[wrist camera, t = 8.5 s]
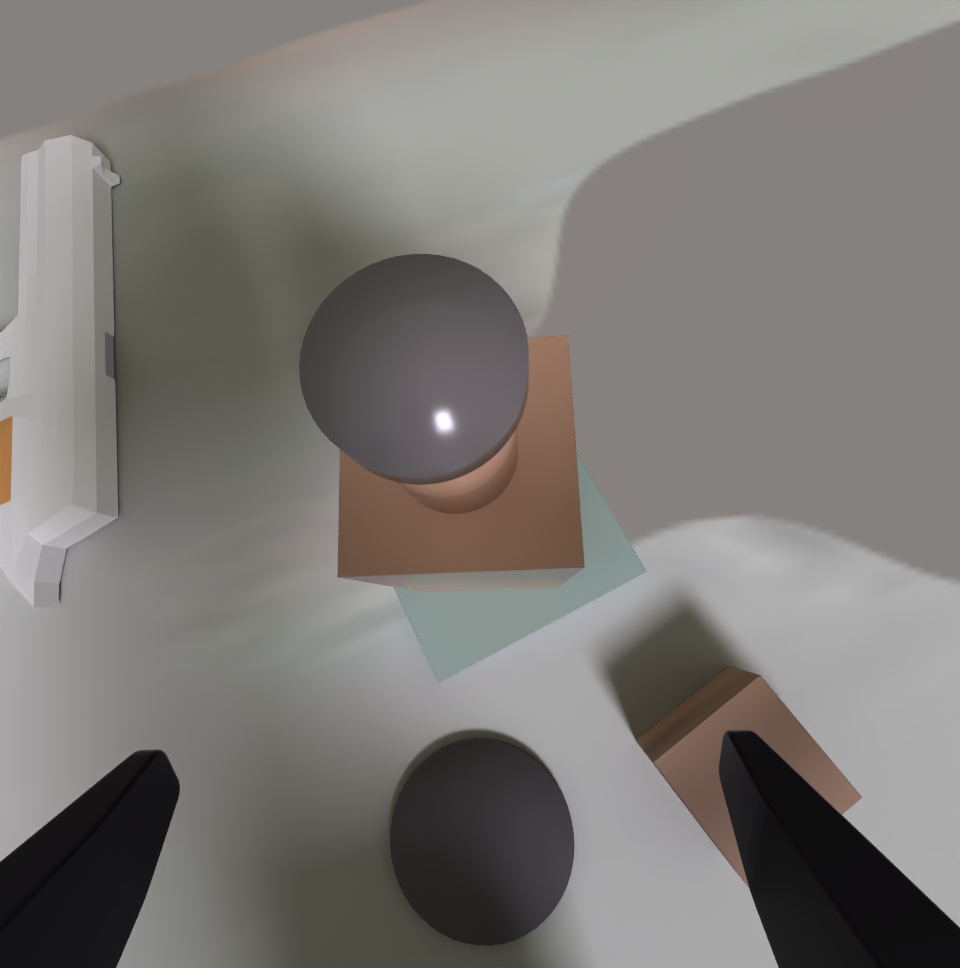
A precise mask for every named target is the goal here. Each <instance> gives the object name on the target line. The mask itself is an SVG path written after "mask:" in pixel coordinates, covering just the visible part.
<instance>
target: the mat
mask: <svg viewBox="0 0 960 968" xmlns="http://www.w3.org/2000/svg"><path fill="white" fill-rule="evenodd" d="M576 454H577V467H578V481H579V495H580V509H581V523H582V537H583V550H584V564H585V568H583V569H582V570H581V571H579V572H578V573H577V574H575V575H574V576H573V577H572V578H570V579H569V580H568V581H566V582H565V583H564V584H562V585H561V586H560V587H557V588H530V589H503V590H476V591H448V592H421V591H415V590H409V589H404V588H398V587H394V589H395V591H396V593H397V596H398V598H399V600H400V602H401V604H402V606H403V608H404V610H405V613H406V615H407V617H408V619H409V621H410V623H411V625H412V627H413V630H414V632H415V634H416V636H417V638H418V640H419V642H420V645H421V647H422V649H423V651H424V653H425V655H426V657H427V659H428V662H429V664H430V666H431V668H432V670H433V672H434V674H435V676H436V679H437V681H438V682H440V681H442V680H444V679H446V678H448V677H450V676H452V675H453V674H455V673H457V672H459V671H461V670H463V669H465V668H467V667H468V666H470V665H472V664H474V663H476V662H478V661H480V660H482V659H483V658H485V657H487V656H489V655H491V654H493V653H495V652H497V651H498V650H500V649H502V648H504V647H506V646H508V645H510V644H512V643H513V642H515V641H517V640H519V639H521V638H523V637H525V636H527V635H529V634H530V633H532V632H534V631H536V630H538V629H540V628H542V627H544V626H545V625H547V624H549V623H551V622H553V621H555V620H557V619H559V618H560V617H562V616H564V615H566V614H568V613H570V612H572V611H574V610H575V609H577V608H579V607H581V606H583V605H585V604H587V603H589V602H590V601H592V600H594V599H596V598H598V597H600V596H602V595H604V594H605V593H607V592H609V591H611V590H613V589H615V588H617V587H619V586H620V585H622V584H624V583H626V582H628V581H630V580H632V579H634V578H635V577H637V576H639V575H641V574H643V573H645V572H647V571H646V570H645V568H644V566H643V565H642V563H641V561H640V559H639V558H638V556H637V554H636V553H635V551H634V549H633V548H632V546H631V544H630V542H629V541H628V539H627V537H626V536H625V534H624V532H623V530H622V529H621V527H620V525H619V524H618V522H617V520H616V518H615V517H614V515H613V513H612V512H611V510H610V508H609V506H608V505H607V503H606V502H605V500H604V498H603V496H602V495H601V493H600V491H599V489H598V488H597V486H596V484H595V483H594V481H593V479H592V477H591V476H590V474H589V472H588V471H587V469H586V467H585V466H584V464H583V462H582V460H581V459H580V457H579V455H578V453H577V452H576Z"/></svg>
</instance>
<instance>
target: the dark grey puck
mask: <svg viewBox="0 0 960 968" xmlns="http://www.w3.org/2000/svg"><path fill="white" fill-rule="evenodd" d="M390 845H391V855H392V861H393V866H394V870H395V873H396V876H397V879H398V882H399V885H400V887H401V889H402V891H403V893H404V895H405V897H406V898H407V900H408V901H409V903H410V904H411V906H412V907H413V908H414V910H415V911H416V912H417V913H418V914H419V916H420V917H421V918H422V919H424V920H425V921H426V922H427V923H428V924H429V925H430V926H431V927H433V928H434V929H436V930H437V931H439V932H440V933H442V934H444V935H446V936H448V937H450V938H452V939H454V940H457V941H460V942H463V943H468V944H474V945H496V944H502V943H506V942H509V941H513V940H515V939H518V938H520V937H522V936H524V935H526V934H527V933H529V932H531V931H532V930H534V929H535V928H536V927H538V926H539V925H540V924H541V923H542V922H543V921H544V920H545V919H546V918H547V917H548V916H549V915H550V914H551V912H552V911H553V910H554V909H555V907H556V906H557V904H558V903H559V901H560V899H561V897H562V895H563V893H564V891H565V889H566V887H567V884H568V881H569V878H570V875H571V870H572V865H573V858H574V833H573V827H572V821H571V816H570V813H569V810H568V806H567V803H566V801H565V799H564V796H563V794H562V792H561V790H560V788H559V787H558V785H557V783H556V781H555V780H554V779H553V777H552V776H551V775H550V773H549V772H548V771H547V770H546V769H545V768H544V767H543V766H542V765H541V764H540V763H539V762H538V761H537V760H536V759H535V758H533V757H532V756H531V755H530V754H528V753H526V752H525V751H523V750H521V749H520V748H518V747H515V746H513V745H511V744H508V743H505V742H501V741H498V740H491V739H469V740H463V741H459V742H456V743H453V744H450V745H448V746H446V747H444V748H441V749H440V750H438V751H437V752H435V753H433V754H432V755H431V756H429V757H428V758H427V759H426V760H425V761H424V762H422V764H421V765H420V766H419V767H418V768H417V769H416V770H415V771H414V773H413V774H412V776H411V777H410V778H409V780H408V781H407V783H406V784H405V786H404V788H403V790H402V792H401V794H400V796H399V799H398V801H397V804H396V806H395V810H394V814H393V818H392V825H391V843H390Z"/></svg>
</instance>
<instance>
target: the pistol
mask: <svg viewBox="0 0 960 968" xmlns="http://www.w3.org/2000/svg"><path fill="white" fill-rule="evenodd" d="M117 184H120V176H119V175H117V174H115V173H113V172H111V162H110V161H109V160H108V159H107V158H106V157H105V156H104V155H103V154H102V153H101V152H100V151H99V149H98V148H97V147H96V146H95V145H94V144H93V143H92V142H89V141H86V140H84V139H81V138H78V137H75V136H73V135H68V136H63V137H59V138H54V139H49V140H45V141H44V142H43V144H42V145H41V147H40V148H39V149H38V150H36V151H33V152H29V153H27V154H25V155H23V156H21V202H20V248H19V294H18V315H17V316H16V317H15V318H14V319H13V320H12V321H11V322H10V323H9V324H8V326H7V327H6V328H5V329H4V330H3V331H2V332H0V360H1V359H2V358H7V357H10V380H9V386H8V391H7V395H6V396H4V397H2V398H1V399H0V567H1V568H2V570H3V572H4V574H5V576H6V578H7V580H8V581H9V582H10V583H11V584H12V585H13V586H14V587H15V588H16V589H17V590H18V591H19V592H20V593H21V594H22V596H23V597H24V598H25V599H26V600H27V601H28V602H29V603H30V604H31V605H32V606H33V607H52V608H59V583H60V581H61V576H62V571H63V566H64V561H65V556H66V552H67V548H68V547H70V546H71V545H73V544H75V543H77V542H79V541H81V540H82V539H84V538H86V537H88V536H89V535H91V534H92V533H94V532H95V531H97V530H99V529H100V528H102V527H103V526H105V525H107V524H109V523H110V522H112V521H114V520H115V519H117V518H118V485H117V438H116V391H115V380H114V338H113V336H114V297H113V250H112V203H111V187H112V186H115V185H117Z"/></svg>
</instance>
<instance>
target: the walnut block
mask: <svg viewBox="0 0 960 968" xmlns="http://www.w3.org/2000/svg"><path fill="white" fill-rule="evenodd" d="M728 730H751V731H753V732H755V733H756V734H758V735H759V736H760V737H761V738H762V739H763V740H764V741H765V742H766V743H767V744H768V745H769V746H770V747H771V748H772V749H773V750H774V751H776V752H777V753H778V754H779V755H780V756H781V757H782V758H783V759H784V760H785V761H786V762H787V763H788V764H789V765H790V766H791V767H792V768H793V769H794V770H795V771H796V772H797V773H799V774H800V775H801V776H802V777H803V778H804V779H805V780H806V781H807V782H808V783H809V784H810V785H811V786H812V787H813V788H814V789H815V790H816V791H817V792H818V793H819V794H821V795H822V796H823V797H824V798H825V799H826V800H827V801H828V802H829V803H830V804H831V805H832V806H833V807H834V808H835V809H836V810H837V811H838V812H839V813H840V814H841V815H842V814H843V813H844V812H846V811H847V810H848V809H849V808H850V807H851V806H853V805H854V804H855V803H856V802H857V801H859V800H860V799H861V798H862V796H861V795H860V794H859V793H858V792H857V790H856V789H855V788H854V787H853V786H852V784H851V783H850V782H849V781H848V780H847V778H846V777H845V776H844V775H843V774H842V772H841V771H840V770H839V769H838V768H837V766H836V765H835V764H834V763H833V762H832V761H831V759H830V758H829V757H828V756H827V755H826V753H825V752H824V751H823V750H822V749H821V747H820V746H819V745H818V744H817V743H816V741H815V740H814V739H813V738H812V737H811V735H810V734H809V733H808V732H807V731H806V729H805V728H804V727H803V726H802V725H801V724H800V722H799V721H798V720H797V719H796V718H795V716H794V715H793V714H792V713H791V712H790V710H789V709H788V708H787V707H786V706H785V704H784V703H783V702H782V701H781V700H780V698H779V697H778V696H777V695H776V694H775V692H774V691H773V690H772V689H771V688H770V687H769V685H768V684H767V683H766V682H765V681H764V679H763V678H762V677H761V676H760V675H757V674H754V673H750V672H746V671H743V670H739V669H736V668H732V667H729V666H727V667H725V668H724V669H723V670H722V671H721V672H719V673H718V674H717V675H716V676H714V677H713V678H712V679H711V680H709V681H708V682H707V683H706V684H704V685H703V686H702V687H701V688H700V689H698V690H697V691H696V692H695V693H693V694H692V695H691V696H690V697H688V698H687V699H686V700H685V701H683V702H682V703H681V704H680V705H679V706H677V707H676V708H675V709H674V710H672V711H671V712H670V713H669V714H667V715H666V716H665V717H664V718H662V719H661V720H660V721H659V722H658V723H656V724H655V725H654V726H653V727H651V728H650V729H649V730H648V731H646V732H645V733H644V734H643V735H641V736H640V737H639V738H638V739H637V740H636V742H637V743H638V744H639V746H640V747H641V748H642V749H643V751H644V752H645V753H646V755H647V756H648V757H649V759H650V760H651V761H652V763H653V764H654V765H655V767H656V768H657V769H658V771H659V772H660V773H661V775H662V776H663V777H664V778H665V780H666V781H667V782H668V784H669V785H670V786H671V788H672V789H673V790H674V792H675V793H676V794H677V796H678V797H679V798H680V800H681V801H682V802H683V803H684V805H685V806H686V807H687V809H688V810H689V811H690V813H691V814H692V815H693V817H694V818H695V819H696V821H697V822H698V823H699V825H700V826H701V827H702V829H703V830H704V831H705V832H706V834H707V835H708V836H709V838H710V839H711V840H712V842H713V843H714V844H715V846H716V847H717V848H718V850H719V851H720V852H721V853H722V855H723V856H724V857H725V858H726V860H727V861H728V862H729V863H730V865H731V866H732V867H733V868H734V870H735V871H736V872H737V873H738V875H739V876H740V877H741V878H742V880H743V881H744V882H745V883H746V885H747V886H748V887H749V885H748V882H747V878H746V875H745V871H744V868H743V864H742V860H741V857H740V853H739V849H738V846H737V842H736V838H735V834H734V831H733V827H732V823H731V820H730V816H729V812H728V808H727V805H726V801H725V797H724V794H723V790H722V786H721V782H720V777H719V759H720V753H721V746H722V739H723V735H724V733H725V732H726V731H728Z"/></svg>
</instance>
